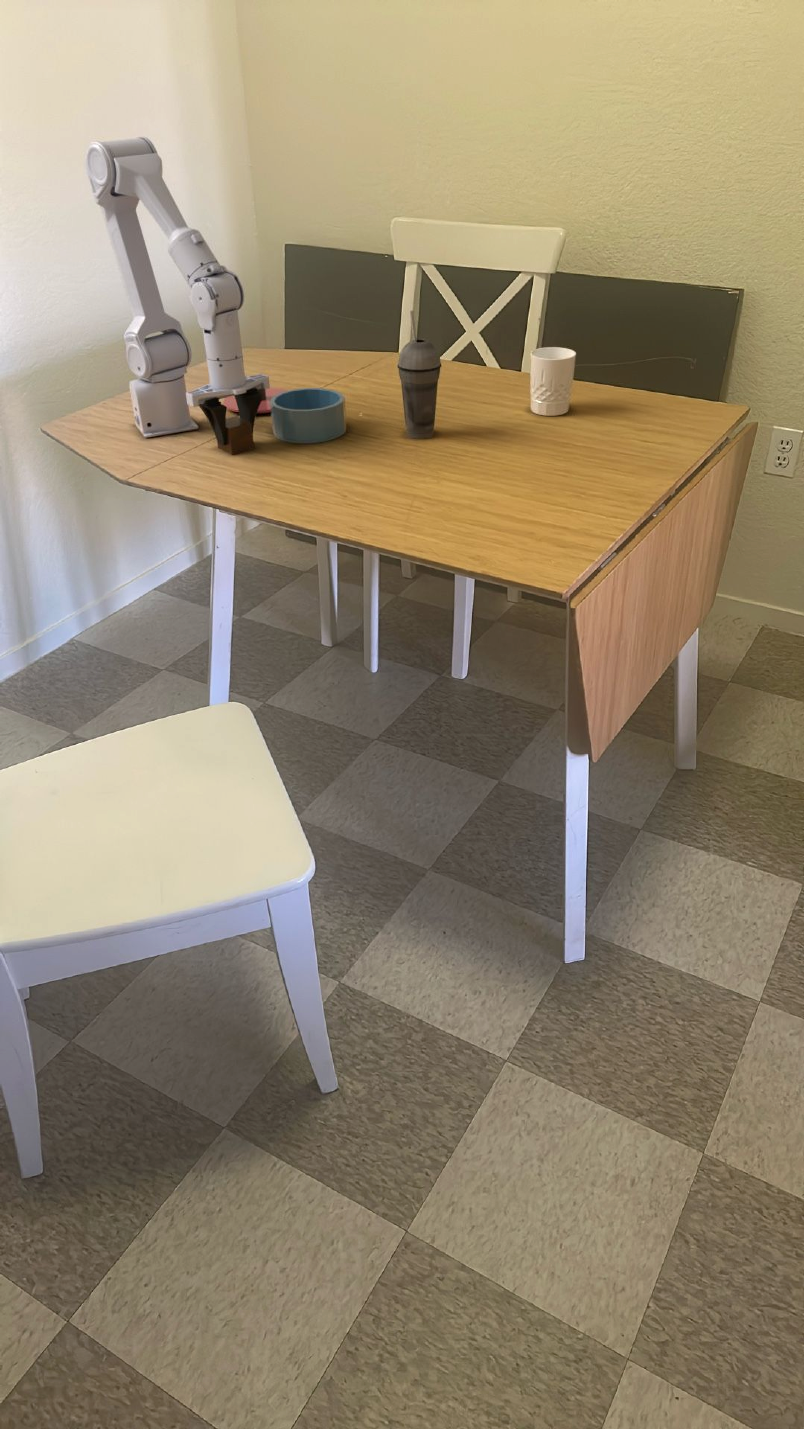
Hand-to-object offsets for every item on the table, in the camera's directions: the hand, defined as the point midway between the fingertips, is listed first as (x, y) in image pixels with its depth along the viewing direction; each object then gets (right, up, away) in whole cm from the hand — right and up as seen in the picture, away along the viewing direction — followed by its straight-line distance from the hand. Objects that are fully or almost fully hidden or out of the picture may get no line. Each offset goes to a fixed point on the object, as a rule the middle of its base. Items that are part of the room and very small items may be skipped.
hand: (234, 440), depth 162 cm
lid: (+1, +13, +19) cm, 23 cm away
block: (0, -1, +1) cm, 1 cm away
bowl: (+12, +4, +7) cm, 14 cm away
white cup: (+54, +9, +13) cm, 57 cm away
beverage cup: (+31, +2, +4) cm, 31 cm away
